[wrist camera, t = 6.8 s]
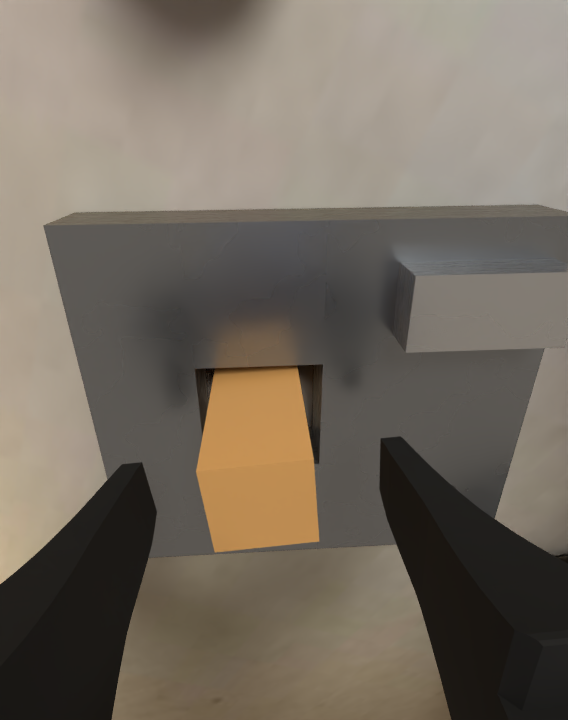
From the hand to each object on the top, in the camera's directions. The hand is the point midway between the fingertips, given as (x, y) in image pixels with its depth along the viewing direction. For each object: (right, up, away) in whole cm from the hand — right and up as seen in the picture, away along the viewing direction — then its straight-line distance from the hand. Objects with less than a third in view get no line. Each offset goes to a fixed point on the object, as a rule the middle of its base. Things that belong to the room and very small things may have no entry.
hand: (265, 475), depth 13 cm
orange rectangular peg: (0, +3, +5) cm, 6 cm away
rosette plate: (+2, +2, +5) cm, 6 cm away
